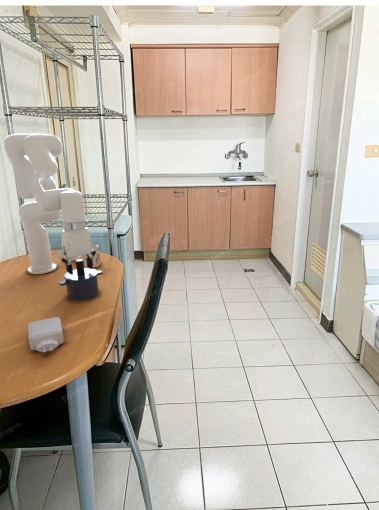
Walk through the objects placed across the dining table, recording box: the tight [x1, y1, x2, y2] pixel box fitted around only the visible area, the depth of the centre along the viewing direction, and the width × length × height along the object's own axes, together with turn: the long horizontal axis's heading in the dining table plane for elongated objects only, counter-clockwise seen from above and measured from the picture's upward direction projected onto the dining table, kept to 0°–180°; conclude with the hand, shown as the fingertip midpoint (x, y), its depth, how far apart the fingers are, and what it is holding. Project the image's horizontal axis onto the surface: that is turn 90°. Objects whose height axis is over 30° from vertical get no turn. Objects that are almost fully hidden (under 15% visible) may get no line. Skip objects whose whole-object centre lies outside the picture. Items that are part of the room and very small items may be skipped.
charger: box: [27, 316, 65, 354], centre depth 101 cm, size 5×9×15 cm
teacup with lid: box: [80, 244, 102, 269], centre depth 166 cm, size 12×9×12 cm
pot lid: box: [63, 258, 98, 281], centre depth 131 cm, size 12×12×7 cm
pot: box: [58, 269, 104, 302], centre depth 133 cm, size 11×17×8 cm
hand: (80, 270), depth 131 cm, fingers open, 7 cm apart
